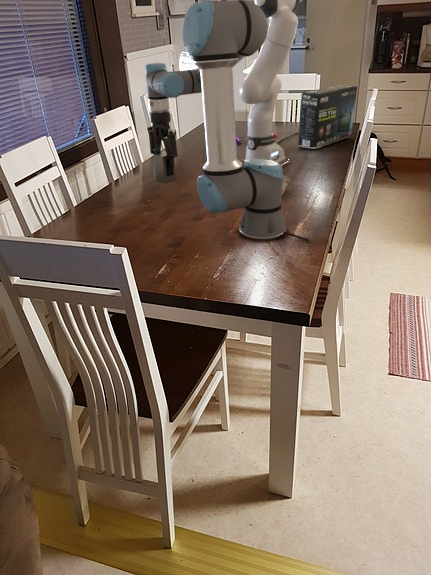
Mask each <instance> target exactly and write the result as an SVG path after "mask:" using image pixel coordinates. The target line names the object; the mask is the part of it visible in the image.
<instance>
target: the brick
mask: <svg viewBox="0 0 431 575" xmlns="http://www.w3.org/2000/svg"><path fill="white" fill-rule="evenodd" d="M166 158H167V154H166V151H161V153H158V154H155V155H154V154H153V162H154V174H155V182H157V183H161V184H164V185H166V184H169V183H172V182H174V181H177V171H176V161H175V158H174V167H173V168H174V175H172V176H168V175H167V164H166Z"/></svg>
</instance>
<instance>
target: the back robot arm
mask: <svg viewBox="0 0 431 575" xmlns="http://www.w3.org/2000/svg"><path fill="white" fill-rule="evenodd" d="M219 1H238V0H219ZM247 1H251V2H253V3H255V4H256V5H258V6H259V7H260V8H261V9H262V11H263V13H264V14H265V16H266V19H269V24H268V25H269V26H268V32H267V36H266V39H265V42H264V43H263V45H262V46H261V47H260V51H259V53H258V56H257V58H256V60H255V62H254V63H253V65H252V67H251V68H250V70H249V72H248V73H247V76H246V77H245V78H244V80H243V81H242V82H241V83H240V85H239V88H238V95H239V98H240V99H241V101H242V102H243V103H245V104H248V105H251V108H250V111H249V113H248V114H247V134H246V148H245V156H244V157H245V158H244V161H246V160H248V159H266V160H271V161H275V162H277V163H278V162H280V161H282V160H284V158H285V150H284V148H282V147H281V146H280V145H279V143H277V144H276V140H279V136H280V135H279V134H277V133H273V130H274V129H273V127H274V126H273V125H274V113H275V108H276V104H277V100H278V96H279V93H280V91H281V89H282V81H281V78H280V77H279V73H280V71H281V70H282V69H283V67H284V66H285V63H286V61H287V59H288V56H289V53H290V50H291V48H292V46H293V43H294V40H295V37H296V34H297V30H298V24H299V19H298V16H297V15H296V12H297V10H298V9H299V7H300V3H301V0H247ZM185 16H186V14H185V15H184V17H185ZM178 62H179V65H178V66H179V68H178V69H179V71H184V70H193V69H197V68H198V67H197V66H196V65H195V64H194V59H193V56H191V55H189V54H188V53H187V52H186V50H181V51H180V53H179V60H178ZM275 139H276V140H275ZM244 161H243V164H244V163H245V162H244ZM288 163H290V160H289V161H287V162H285V163H283V164H281V166H282V167H283V166H285V165H287V164H288ZM243 167H245V166H244V165H243Z"/></svg>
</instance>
